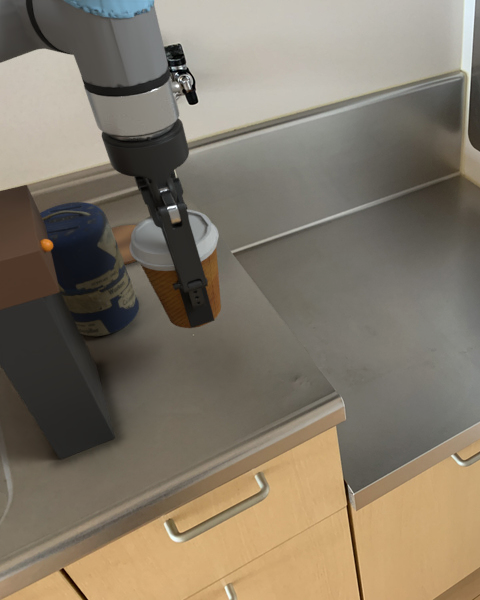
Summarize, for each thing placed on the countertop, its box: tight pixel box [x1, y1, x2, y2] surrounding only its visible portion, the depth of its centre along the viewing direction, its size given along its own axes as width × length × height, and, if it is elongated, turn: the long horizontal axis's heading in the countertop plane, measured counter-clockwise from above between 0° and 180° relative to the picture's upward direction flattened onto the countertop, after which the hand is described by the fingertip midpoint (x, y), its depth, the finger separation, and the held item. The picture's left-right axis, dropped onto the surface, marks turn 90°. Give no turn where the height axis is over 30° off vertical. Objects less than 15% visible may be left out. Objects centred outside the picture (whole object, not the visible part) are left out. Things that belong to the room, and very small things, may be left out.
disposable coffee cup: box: [130, 209, 222, 329], centre depth 71 cm, size 10×10×12 cm
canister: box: [40, 201, 140, 337], centre depth 81 cm, size 10×10×18 cm
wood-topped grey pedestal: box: [0, 184, 116, 460], centre depth 67 cm, size 8×13×27 cm, turn 29°
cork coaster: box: [111, 224, 138, 266], centre depth 100 cm, size 11×11×1 cm
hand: (191, 299), depth 74 cm, fingers closed on disposable coffee cup, 8 cm apart
